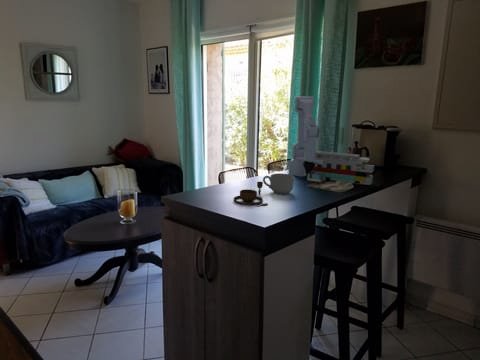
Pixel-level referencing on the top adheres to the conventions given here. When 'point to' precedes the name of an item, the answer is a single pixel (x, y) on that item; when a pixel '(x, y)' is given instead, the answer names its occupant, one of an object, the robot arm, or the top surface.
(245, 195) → the place setting
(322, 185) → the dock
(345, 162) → the toy vehicle
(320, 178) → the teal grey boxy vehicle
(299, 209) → the top surface
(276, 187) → the teacup
